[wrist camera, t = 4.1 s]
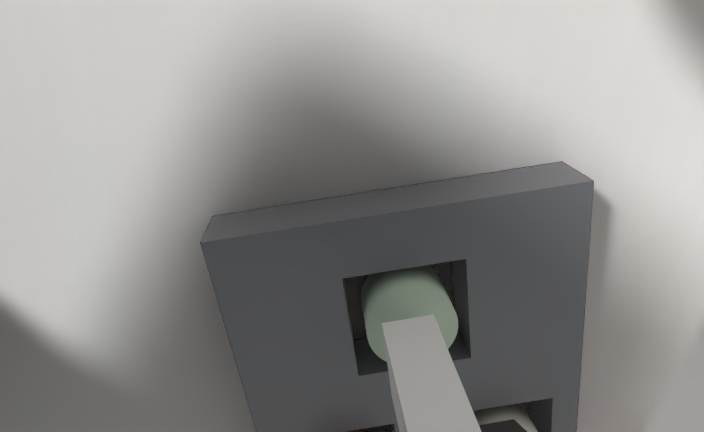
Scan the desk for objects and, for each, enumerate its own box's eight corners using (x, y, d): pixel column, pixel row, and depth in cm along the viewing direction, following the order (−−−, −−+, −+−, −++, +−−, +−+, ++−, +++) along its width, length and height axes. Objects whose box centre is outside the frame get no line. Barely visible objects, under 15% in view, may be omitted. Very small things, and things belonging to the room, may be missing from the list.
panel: (290, 495, 22) (288, 540, 20) (212, 216, 16) (200, 242, 14) (550, 452, 22) (572, 493, 20) (562, 161, 16) (593, 180, 15)
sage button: (366, 334, 18) (372, 372, 16) (355, 265, 17) (361, 298, 15) (444, 321, 18) (460, 358, 16) (439, 252, 17) (456, 283, 15)
